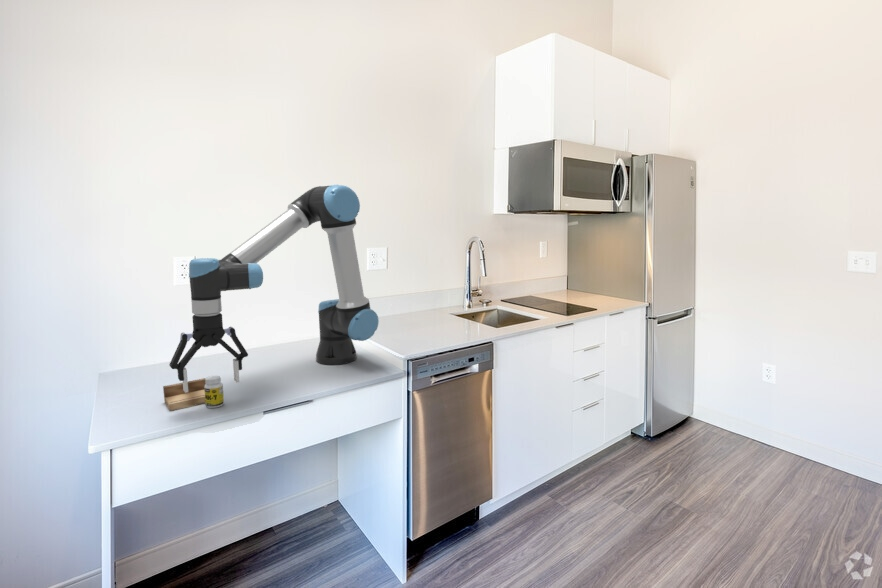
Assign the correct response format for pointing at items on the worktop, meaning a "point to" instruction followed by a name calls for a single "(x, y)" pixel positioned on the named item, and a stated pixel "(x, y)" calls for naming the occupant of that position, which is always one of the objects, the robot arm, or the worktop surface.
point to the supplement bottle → (213, 392)
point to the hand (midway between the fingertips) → (212, 386)
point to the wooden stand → (184, 394)
